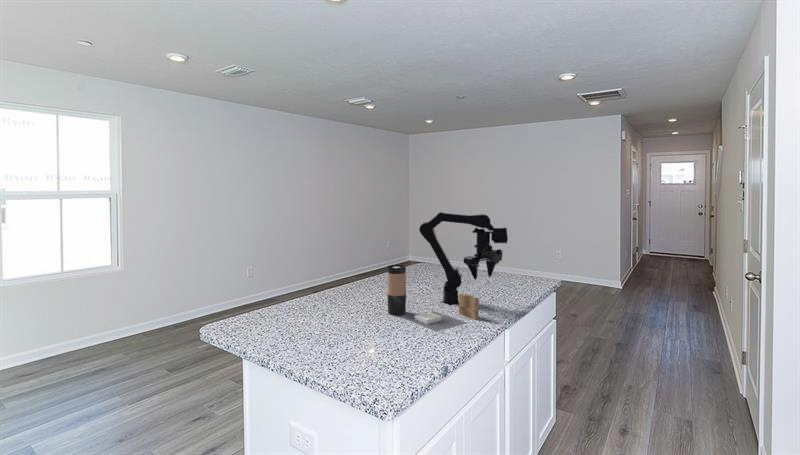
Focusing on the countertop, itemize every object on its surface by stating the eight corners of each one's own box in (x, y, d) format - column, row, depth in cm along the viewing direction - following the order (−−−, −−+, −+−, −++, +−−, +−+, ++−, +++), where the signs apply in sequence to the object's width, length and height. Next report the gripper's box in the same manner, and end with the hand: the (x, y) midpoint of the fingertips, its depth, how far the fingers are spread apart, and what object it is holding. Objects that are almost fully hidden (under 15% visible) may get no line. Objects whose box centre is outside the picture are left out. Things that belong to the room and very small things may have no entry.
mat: (403, 319, 168) (402, 318, 168) (433, 312, 178) (433, 311, 178) (436, 332, 152) (436, 331, 152) (467, 324, 162) (468, 323, 162)
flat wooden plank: (458, 315, 173) (458, 294, 172) (462, 314, 174) (462, 293, 173) (474, 321, 166) (475, 298, 165) (478, 320, 167) (478, 297, 166)
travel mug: (409, 312, 177) (408, 265, 175) (401, 317, 170) (401, 268, 168) (392, 310, 180) (392, 264, 178) (384, 315, 173) (383, 267, 172)
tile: (429, 315, 171) (414, 319, 166) (429, 312, 171) (414, 315, 166) (441, 320, 165) (427, 324, 160) (441, 316, 165) (427, 320, 160)
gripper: (482, 246, 175) (481, 284, 176) (511, 243, 186) (511, 278, 187) (462, 244, 184) (462, 279, 185) (492, 240, 195) (491, 274, 196)
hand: (482, 278), depth 188 cm, fingers open, 9 cm apart
